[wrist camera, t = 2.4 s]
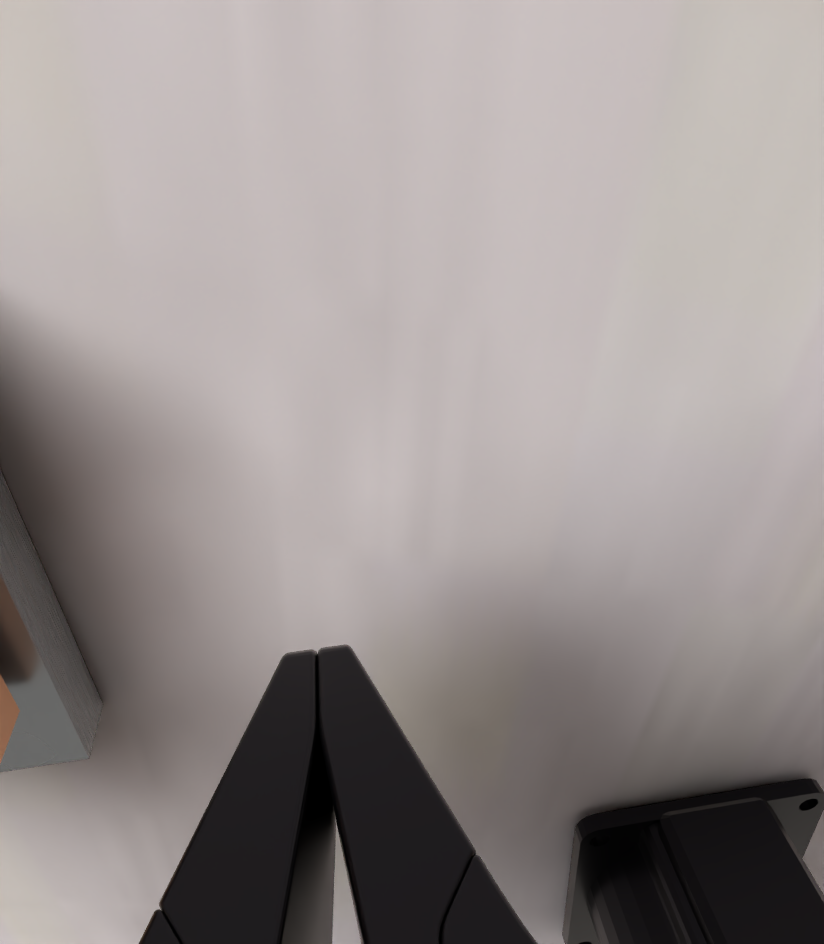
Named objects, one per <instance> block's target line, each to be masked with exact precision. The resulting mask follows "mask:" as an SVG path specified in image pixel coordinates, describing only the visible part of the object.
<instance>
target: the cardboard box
mask: <svg viewBox="0 0 824 944" xmlns="http://www.w3.org/2000/svg"><path fill="white" fill-rule="evenodd" d="M19 712H20V710H19V708H18V706H17V704H16V702H15V700H14V699H13V697H12V695H11V693H10V691H9V689H8V687H7V686H6V684H5V682H4V680H3V678H2V676H1V674H0V763H1V761H2V758H3V755H4V752H5V750H6V747H7V744H8V742H9V739H10V736H11V734H12V731H13V728H14V725H15V723H16V720H17V717H18V715H19Z"/></svg>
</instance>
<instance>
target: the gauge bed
mask: <svg viewBox="0 0 824 944" xmlns="http://www.w3.org/2000/svg"><path fill="white" fill-rule="evenodd" d="M0 674H1V676H2V678H3V680H4V682H5V684H6V686H7V687H8V689H9V691H10V693H11V695H12V697H13V699H14V700H15V702H16V704H17V706H18V708H19V710H20V712H19V715H18V717H17V720H16V723H15V725H14V728H13V731H12V734H11V736H10V739H9V742H8V744H7V747H6V750H5V752H4V755H3V758H2V761H1V763H0V772H4V771H11V770H17V769H24V768H31V767H37V766H44V765H50V764H57V763H63V762H70V761H76V760H83V759H89V757H90V753H91V750H92V746H93V742H94V738H95V734H96V730H97V726H98V722H99V718H100V715H101V711H102V707H103V703H102V701H101V699H100V696H99V694H98V692H97V689H96V687H95V685H94V683H93V680H92V678H91V676H90V673H89V671H88V669H87V667H86V664H85V662H84V660H83V657H82V655H81V653H80V650H79V648H78V646H77V644H76V641H75V639H74V637H73V634H72V632H71V630H70V628H69V625H68V623H67V621H66V618H65V616H64V614H63V612H62V609H61V607H60V605H59V602H58V600H57V598H56V596H55V593H54V591H53V589H52V586H51V584H50V582H49V579H48V577H47V575H46V573H45V570H44V568H43V566H42V563H41V561H40V559H39V557H38V554H37V552H36V550H35V547H34V545H33V543H32V541H31V538H30V536H29V534H28V531H27V529H26V527H25V524H24V522H23V520H22V518H21V515H20V513H19V511H18V508H17V506H16V504H15V502H14V499H13V497H12V495H11V492H10V490H9V488H8V486H7V483H6V481H5V479H4V476H3V474H2V472H1V469H0Z"/></svg>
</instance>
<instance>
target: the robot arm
mask: <svg viewBox="0 0 824 944" xmlns="http://www.w3.org/2000/svg"><path fill="white" fill-rule="evenodd" d="M823 810H824V791H823V790H822V788H821V787H820V785H819V784H818V782H817V781H816V780H814V779H801V780H795V781H789V782H783V783H777V784H771V785H766V786H760V787H754V788H748V789H742V790H736V791H730V792H724V793H718V794H712V795H706V796H700V797H694V798H688V799H682V800H677V801H671V802H665V803H659V804H653V805H647V806H641V807H635V808H629V809H623V810H617V811H611V812H605V813H599V814H594V815H591V816H588V817H586V818H584V819H582V820H581V821H580V822H579V823H578V824H577V825H576V828H575V833H574V841H573V849H572V858H571V866H570V874H569V882H568V891H567V899H566V907H565V916H564V924H563V932H562V935H563V939H564V942H565V944H824V895H823V893H822V891H821V890H820V888H819V886H818V885H817V883H816V881H815V879H814V878H813V876H812V874H811V873H810V871H809V869H808V868H807V866H806V864H805V863H804V861H803V859H802V857H803V855H804V853H805V851H806V848H807V846H808V844H809V842H810V839H811V837H812V835H813V832H814V830H815V828H816V826H817V823H818V821H819V819H820V817H821V814H822V812H823ZM335 817H336V821H335ZM336 822H337V827H338V832H339V837H340V842H341V847H342V852H343V857H344V861H345V866H346V871H347V876H348V881H349V886H350V890H351V895H352V900H353V905H354V910H355V915H356V919H357V924H358V929H359V934H360V939H361V944H537V942H536V941H535V940H534V938H533V937H532V936H531V934H530V933H529V932H528V930H527V929H526V927H525V926H524V925H523V923H522V922H521V920H520V919H519V917H518V916H517V914H516V913H515V911H514V910H513V908H512V907H511V905H510V904H509V902H508V901H507V899H506V897H505V896H504V894H503V893H502V891H501V890H500V888H499V887H498V885H497V884H496V882H495V881H494V879H493V877H492V876H491V874H490V872H489V871H488V869H487V868H486V866H485V864H484V863H483V861H482V859H481V858H480V856H478V855H476V851H475V849H474V847H473V845H472V844H471V842H470V840H469V839H468V837H467V836H466V834H465V832H464V831H463V829H462V827H461V826H460V824H459V823H458V821H457V819H456V818H455V816H454V814H453V813H452V811H451V809H450V808H449V806H448V805H447V803H446V801H445V800H444V798H443V796H442V795H441V793H440V791H439V790H438V788H437V787H436V785H435V783H434V782H433V780H432V778H431V777H430V775H429V774H428V772H427V770H426V769H425V767H424V765H423V764H422V762H421V760H420V759H419V757H418V756H417V754H416V752H415V751H414V749H413V747H412V746H411V744H410V743H409V741H408V739H407V738H406V736H405V734H404V733H403V731H402V729H401V728H400V726H399V725H398V723H397V721H396V720H395V718H394V716H393V715H392V713H391V712H390V710H389V708H388V707H387V705H386V703H385V702H384V700H383V698H382V697H381V695H380V694H379V692H378V690H377V689H376V687H375V685H374V684H373V682H372V680H371V679H370V677H369V676H368V674H367V672H366V671H365V669H364V667H363V666H362V664H361V663H360V661H359V659H358V658H357V656H356V654H355V653H354V651H353V650H352V648H351V647H350V646H348V645H339V646H332V647H325V648H321V649H320V650H319V651H318V655H317V652H316V651H314V650H304V651H297V652H290V653H287V654H285V655H284V656H283V657H282V659H281V661H280V663H279V665H278V667H277V669H276V671H275V673H274V675H273V677H272V679H271V681H270V683H269V685H268V687H267V689H266V691H265V693H264V695H263V697H262V699H261V701H260V703H259V705H258V707H257V709H256V711H255V713H254V715H253V717H252V719H251V721H250V723H249V725H248V727H247V729H246V731H245V733H244V735H243V737H242V739H241V741H240V743H239V745H238V747H237V749H236V751H235V753H234V755H233V757H232V759H231V761H230V763H229V765H228V767H227V769H226V771H225V773H224V775H223V777H222V779H221V781H220V783H219V785H218V787H217V789H216V791H215V793H214V795H213V797H212V799H211V801H210V803H209V805H208V807H207V809H206V811H205V813H204V814H203V816H202V818H201V820H200V822H199V824H198V826H197V828H196V830H195V832H194V834H193V836H192V838H191V840H190V842H189V844H188V846H187V848H186V850H185V852H184V854H183V856H182V858H181V860H180V862H179V864H178V866H177V868H176V870H175V872H174V874H173V876H172V878H171V880H170V882H169V884H168V886H167V888H166V890H165V892H164V894H163V896H162V898H161V900H160V903H159V906H160V909H161V910H156V911H155V912H154V914H153V916H152V918H151V920H150V922H149V924H148V926H147V928H146V930H145V932H144V934H143V936H142V938H141V940H140V942H139V944H332V926H333V898H334V870H335V838H336Z"/></svg>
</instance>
